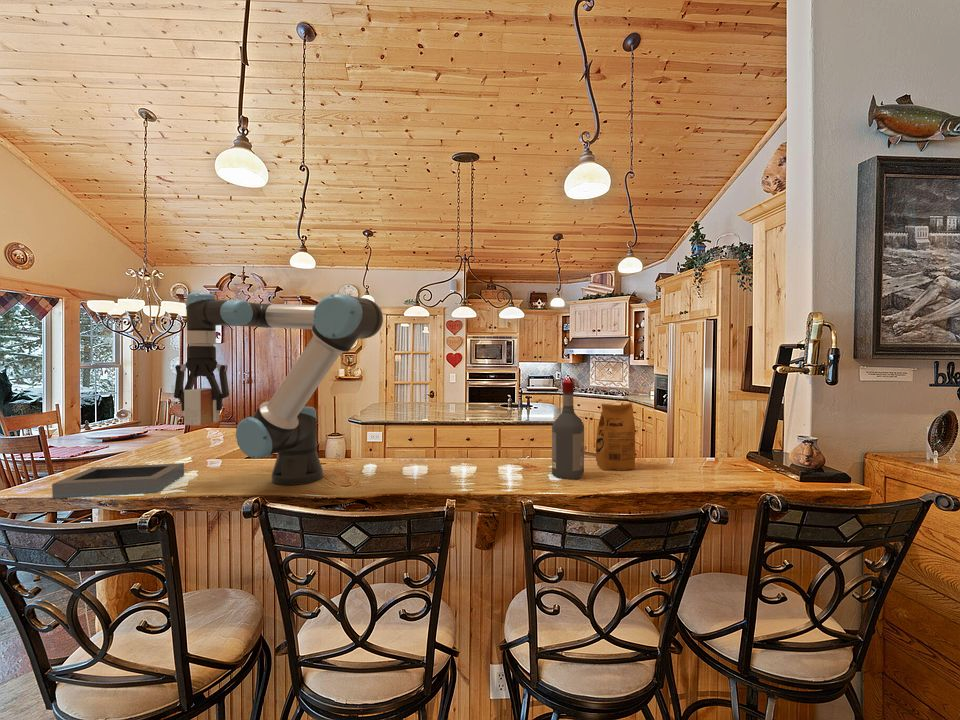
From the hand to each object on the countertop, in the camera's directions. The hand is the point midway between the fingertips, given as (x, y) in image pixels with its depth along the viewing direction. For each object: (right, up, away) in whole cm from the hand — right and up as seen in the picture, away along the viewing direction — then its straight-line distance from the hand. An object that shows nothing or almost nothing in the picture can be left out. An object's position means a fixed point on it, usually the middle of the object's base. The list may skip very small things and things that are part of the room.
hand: (202, 421), depth 141 cm
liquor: (+112, -19, +10) cm, 114 cm away
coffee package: (+130, -19, +20) cm, 133 cm away
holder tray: (-23, -19, 0) cm, 30 cm away
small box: (0, -1, 0) cm, 1 cm away
